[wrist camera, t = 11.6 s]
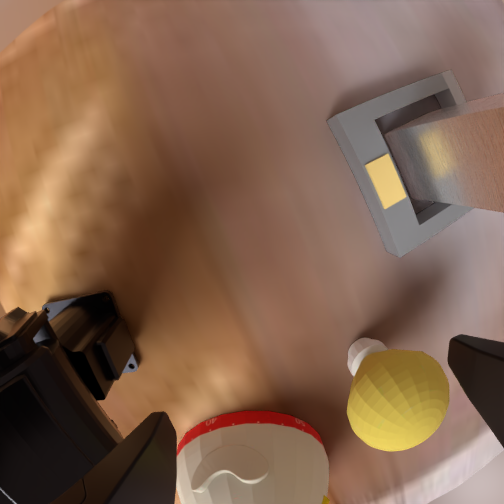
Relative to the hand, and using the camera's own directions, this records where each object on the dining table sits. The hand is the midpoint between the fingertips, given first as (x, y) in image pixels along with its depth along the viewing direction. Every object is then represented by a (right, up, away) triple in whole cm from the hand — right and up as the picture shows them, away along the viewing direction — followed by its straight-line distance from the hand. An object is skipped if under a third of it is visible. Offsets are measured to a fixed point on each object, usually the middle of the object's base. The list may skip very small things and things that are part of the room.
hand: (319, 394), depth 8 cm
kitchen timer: (-2, -15, +17) cm, 23 cm away
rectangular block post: (+11, +11, +12) cm, 19 cm away
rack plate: (+11, +11, +12) cm, 19 cm away
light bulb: (+7, -4, +15) cm, 17 cm away
